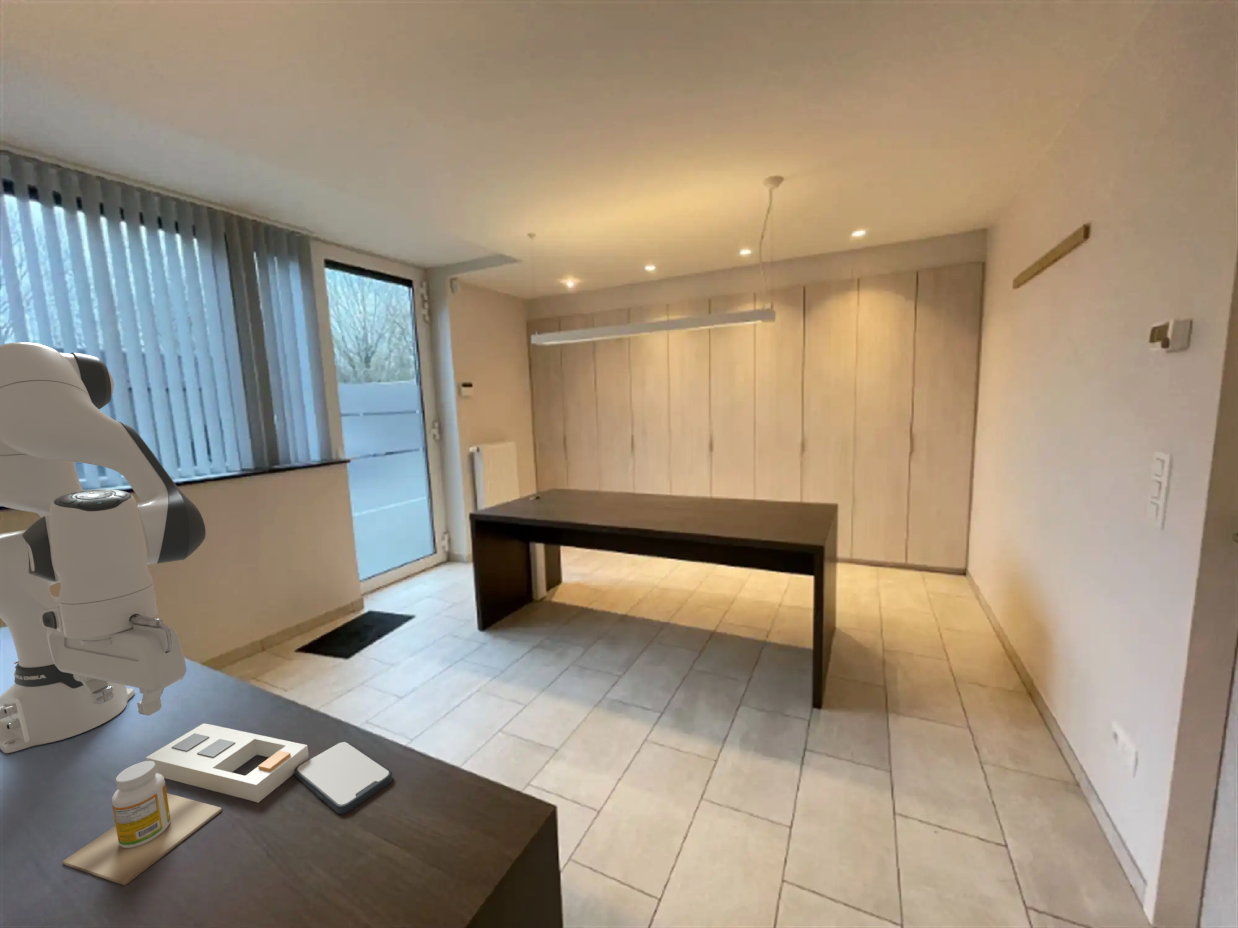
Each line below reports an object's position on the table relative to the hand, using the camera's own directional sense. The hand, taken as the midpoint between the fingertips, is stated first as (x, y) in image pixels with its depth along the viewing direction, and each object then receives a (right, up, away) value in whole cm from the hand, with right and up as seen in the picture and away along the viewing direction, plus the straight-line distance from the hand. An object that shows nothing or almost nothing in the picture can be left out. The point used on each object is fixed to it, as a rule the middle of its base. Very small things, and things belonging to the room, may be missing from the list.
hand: (126, 706), depth 68 cm
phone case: (+23, -19, +13) cm, 32 cm away
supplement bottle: (0, -19, +2) cm, 20 cm away
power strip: (+2, -18, +15) cm, 24 cm away
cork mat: (0, -20, +2) cm, 20 cm away
